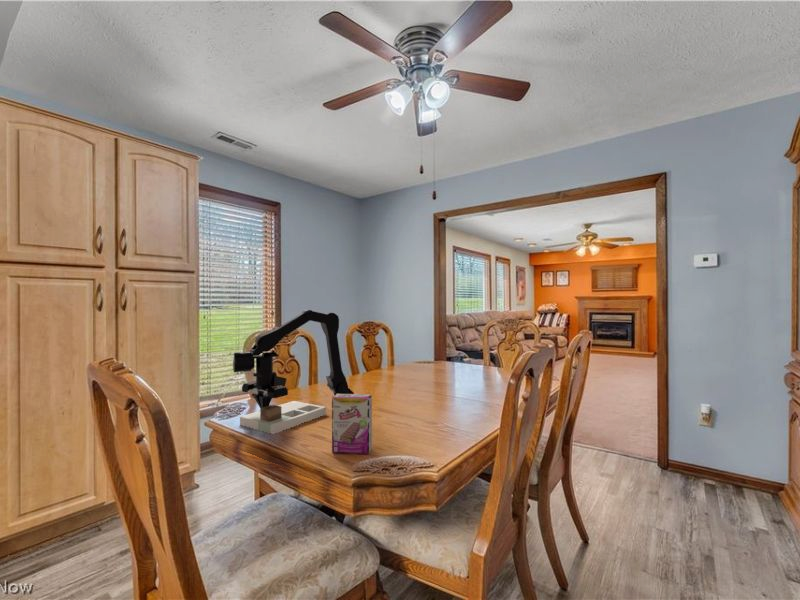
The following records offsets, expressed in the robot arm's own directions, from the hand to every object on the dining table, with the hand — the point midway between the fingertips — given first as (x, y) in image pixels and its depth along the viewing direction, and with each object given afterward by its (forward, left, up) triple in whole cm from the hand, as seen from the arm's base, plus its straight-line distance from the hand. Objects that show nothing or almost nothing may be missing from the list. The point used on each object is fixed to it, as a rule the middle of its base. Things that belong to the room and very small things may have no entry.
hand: (264, 413), depth 137 cm
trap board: (-2, -8, -4) cm, 9 cm away
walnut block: (-4, +1, -1) cm, 5 cm away
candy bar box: (-42, +2, -4) cm, 43 cm away
